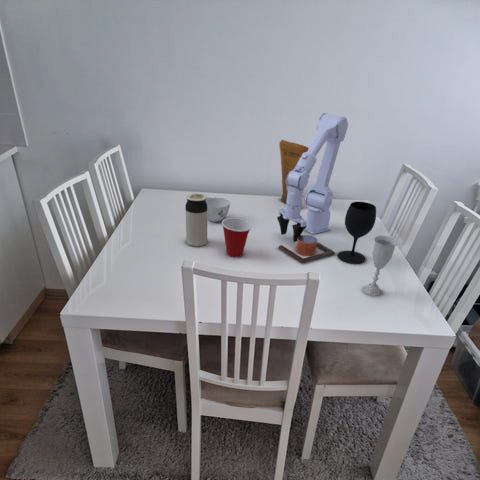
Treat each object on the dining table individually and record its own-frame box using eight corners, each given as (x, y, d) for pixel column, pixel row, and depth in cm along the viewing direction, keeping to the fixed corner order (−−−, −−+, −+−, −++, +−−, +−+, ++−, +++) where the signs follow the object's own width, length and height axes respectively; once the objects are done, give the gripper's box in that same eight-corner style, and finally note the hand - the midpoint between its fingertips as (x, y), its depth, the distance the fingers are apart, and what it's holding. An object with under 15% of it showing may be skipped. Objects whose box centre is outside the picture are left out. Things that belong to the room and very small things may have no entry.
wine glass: (366, 254, 159) (379, 203, 148) (364, 266, 151) (377, 213, 139) (339, 249, 162) (349, 198, 150) (335, 260, 153) (346, 208, 142)
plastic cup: (247, 262, 149) (249, 230, 142) (217, 258, 150) (218, 226, 143) (252, 249, 158) (254, 219, 151) (224, 245, 159) (225, 215, 152)
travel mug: (211, 242, 161) (212, 196, 150) (196, 248, 156) (195, 201, 145) (197, 236, 165) (197, 191, 154) (182, 242, 160) (180, 195, 150)
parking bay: (309, 240, 167) (310, 237, 166) (334, 254, 158) (334, 251, 157) (278, 248, 159) (278, 245, 159) (302, 263, 150) (302, 260, 149)
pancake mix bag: (295, 211, 193) (303, 147, 177) (272, 198, 206) (278, 138, 190) (307, 209, 196) (316, 146, 180) (283, 196, 209) (290, 137, 193)
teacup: (235, 221, 179) (236, 203, 175) (211, 227, 173) (211, 208, 168) (215, 210, 189) (216, 193, 184) (192, 215, 182) (191, 197, 178)
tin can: (306, 245, 163) (308, 233, 160) (319, 253, 158) (321, 240, 155) (291, 249, 160) (293, 237, 157) (304, 257, 154) (306, 244, 152)
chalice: (358, 285, 139) (371, 235, 129) (378, 285, 140) (392, 235, 130) (365, 297, 133) (379, 245, 123) (386, 297, 134) (401, 246, 124)
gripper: (273, 199, 160) (270, 232, 167) (298, 212, 150) (293, 246, 158) (288, 196, 163) (284, 229, 171) (312, 209, 153) (307, 243, 161)
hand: (289, 237), depth 165 cm, fingers open, 7 cm apart
